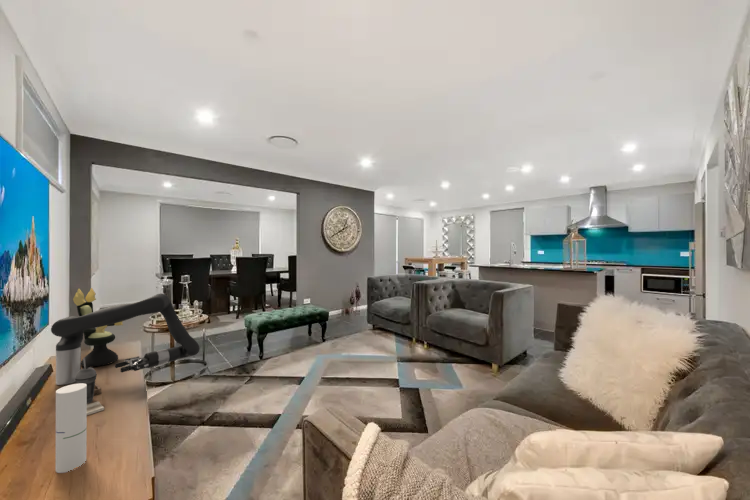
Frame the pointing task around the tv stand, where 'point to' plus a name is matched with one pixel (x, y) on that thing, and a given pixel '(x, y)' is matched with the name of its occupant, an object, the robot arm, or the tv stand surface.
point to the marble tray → (97, 389)
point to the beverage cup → (87, 380)
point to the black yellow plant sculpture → (95, 333)
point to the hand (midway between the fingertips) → (117, 368)
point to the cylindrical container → (71, 427)
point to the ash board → (94, 408)
